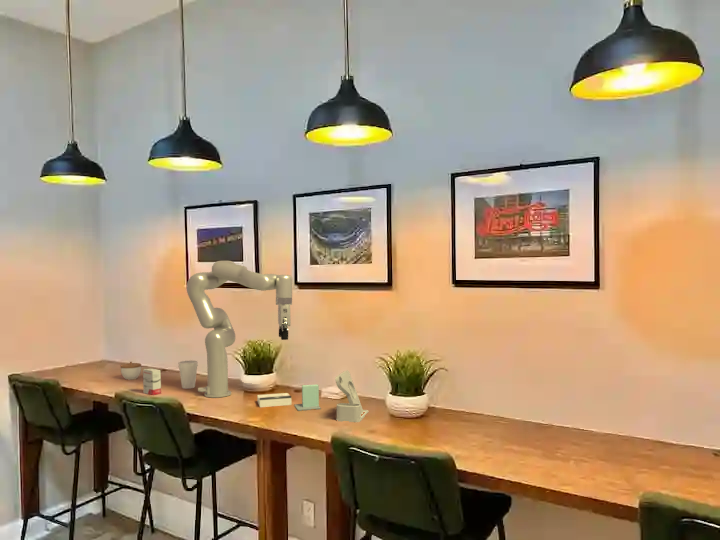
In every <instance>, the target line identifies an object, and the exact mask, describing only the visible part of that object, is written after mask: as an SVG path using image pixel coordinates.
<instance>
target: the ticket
mask: <svg viewBox="0 0 720 540" xmlns="http://www.w3.org/2000/svg"><path fill="white" fill-rule="evenodd" d="M319 389H320V388H319V384H306V385H305V384H303V385H301V404H302V406H303V407H312V406H319V407H320V405H319V404H320V395H319V394H320V392H319V391H320V390H319Z"/></svg>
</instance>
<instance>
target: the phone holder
mask: <svg viewBox="0 0 720 540" xmlns="http://www.w3.org/2000/svg"><path fill="white" fill-rule="evenodd" d="M334 379H335V383H336V387H337V388H338V390H339V391H341V392H343V394H344V395H345V397H346V398H347V402H339V403H337V404H336V419H335V420H338V421H337V422H343V421H349V422H348V423H360V422H361V421H363V419H364V418H365V417H366V416H367V415H368V414H369V410H368V409H363V406H362V403H361V401H360V397H359V395H358V391H357V390H356V386H355V385H354V382H353V378H352V376H351V373H350V371H349V370H348V369H346V370H344V371H343V372H341V373H339V374H338V375H336V376H335V378H334ZM363 412H365V413H364V414H363ZM367 413H368V414H367ZM361 414H363V415H362V416H361ZM366 414H367V415H366ZM365 415H366V416H365Z"/></svg>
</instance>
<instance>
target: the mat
mask: <svg viewBox="0 0 720 540" xmlns="http://www.w3.org/2000/svg"><path fill="white" fill-rule="evenodd" d="M293 406H294V408H295V409H296V410H297V412H302V410H303V411H312V410H311V409H316V410H322V408H321V407H320V405H319V406H312V407H303V406H302V403H295V404H293Z"/></svg>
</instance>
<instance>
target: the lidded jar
mask: <svg viewBox="0 0 720 540" xmlns="http://www.w3.org/2000/svg"><path fill="white" fill-rule="evenodd" d="M141 371H142V363H140V362H133V361H129V363H123V364H121V365H120V373H121V375H122V377H123V378H124V379H125V380H127V379H128V380H137V379H138V377H139V376H140V375H141V374H142V373H141Z"/></svg>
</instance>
